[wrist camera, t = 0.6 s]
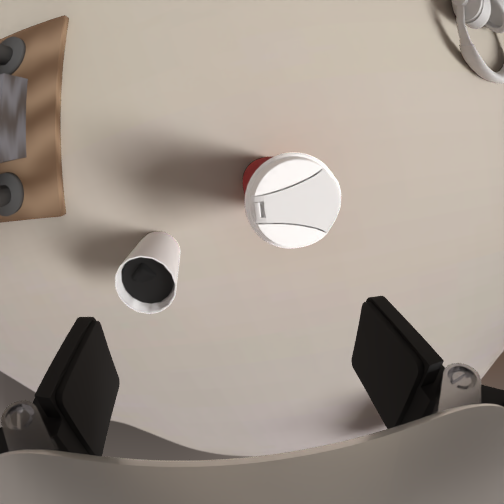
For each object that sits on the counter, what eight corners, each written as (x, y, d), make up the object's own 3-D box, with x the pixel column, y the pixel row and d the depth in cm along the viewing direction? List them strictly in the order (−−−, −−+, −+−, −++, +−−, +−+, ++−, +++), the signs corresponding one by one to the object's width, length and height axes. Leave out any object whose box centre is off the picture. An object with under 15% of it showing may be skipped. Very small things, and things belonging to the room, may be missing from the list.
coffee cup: (237, 217, 39) (253, 261, 25) (229, 152, 36) (240, 159, 22) (301, 208, 40) (348, 245, 26) (295, 145, 37) (344, 149, 23)
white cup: (125, 254, 39) (103, 287, 30) (155, 217, 38) (138, 242, 28) (163, 284, 41) (152, 324, 32) (194, 250, 40) (190, 283, 31)
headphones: (427, -21, 28) (455, 82, 38) (457, -29, 21) (487, 86, 31) (486, -7, 28) (506, 81, 38) (513, -9, 21) (534, 86, 31)
